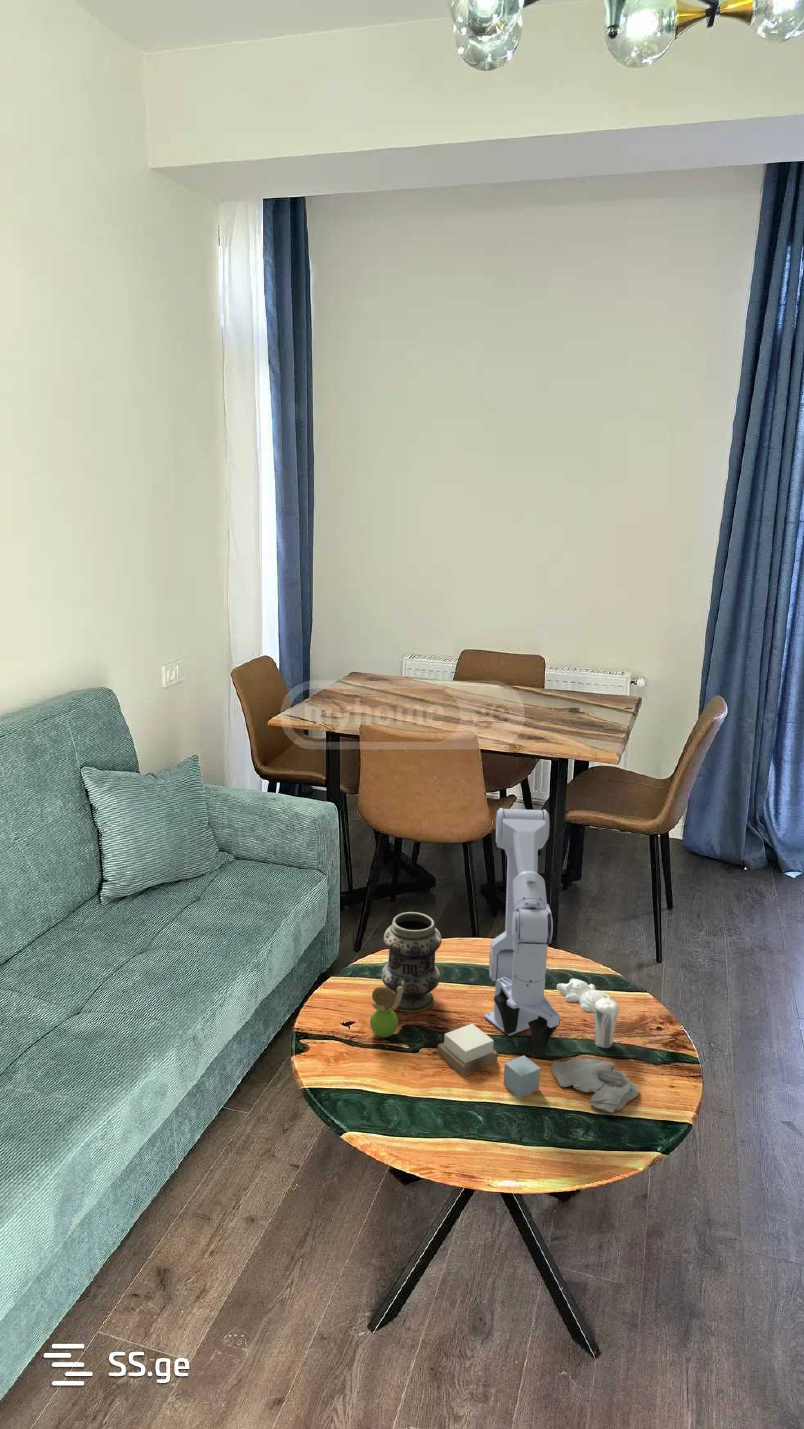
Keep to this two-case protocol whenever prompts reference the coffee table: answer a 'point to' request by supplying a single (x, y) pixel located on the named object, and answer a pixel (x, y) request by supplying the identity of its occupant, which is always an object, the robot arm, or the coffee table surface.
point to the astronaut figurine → (581, 993)
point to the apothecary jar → (412, 960)
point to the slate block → (521, 1076)
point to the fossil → (596, 1082)
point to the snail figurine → (385, 1010)
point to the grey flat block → (466, 1067)
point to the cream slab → (468, 1043)
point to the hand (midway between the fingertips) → (524, 1043)
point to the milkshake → (605, 1021)
